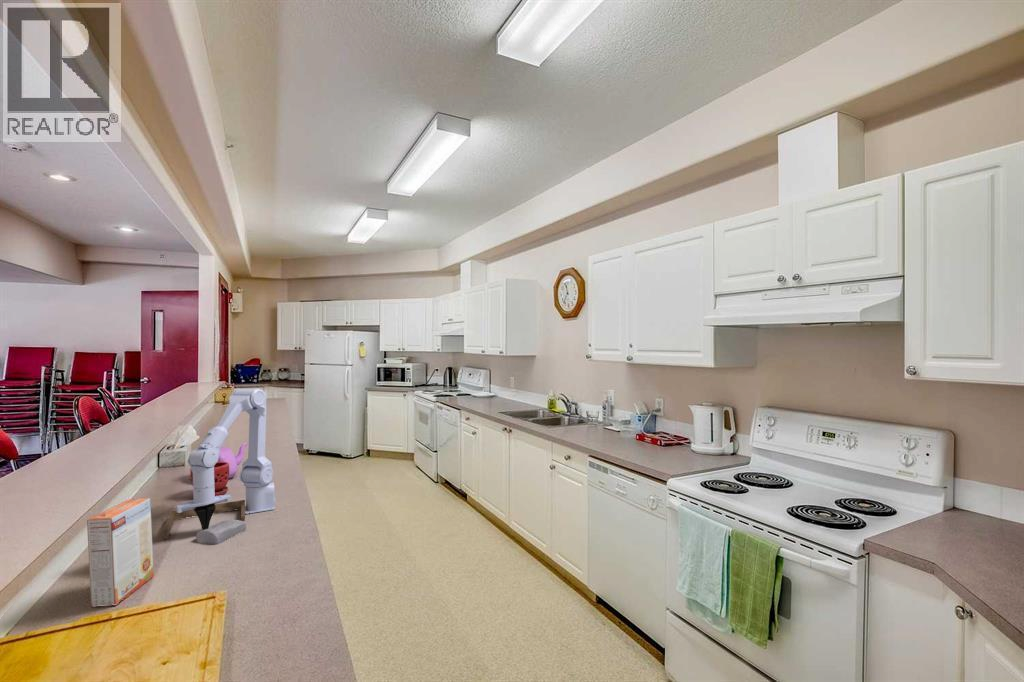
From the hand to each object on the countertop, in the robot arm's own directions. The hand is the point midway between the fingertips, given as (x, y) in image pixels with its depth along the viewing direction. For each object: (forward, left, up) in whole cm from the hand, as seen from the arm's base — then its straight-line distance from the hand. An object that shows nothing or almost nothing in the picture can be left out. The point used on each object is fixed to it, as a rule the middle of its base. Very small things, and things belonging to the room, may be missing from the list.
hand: (205, 529), depth 155 cm
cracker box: (+15, +32, -2) cm, 35 cm away
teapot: (0, -70, -2) cm, 70 cm away
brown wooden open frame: (0, -10, -1) cm, 10 cm away
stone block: (-4, +4, -2) cm, 6 cm away
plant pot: (+1, -44, -2) cm, 44 cm away
